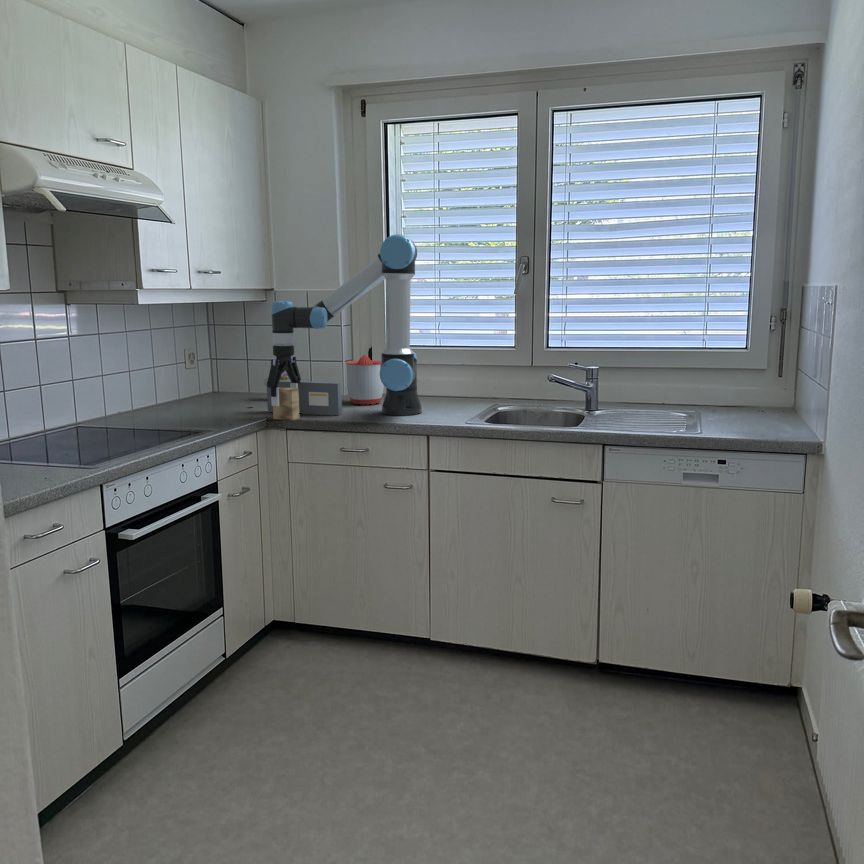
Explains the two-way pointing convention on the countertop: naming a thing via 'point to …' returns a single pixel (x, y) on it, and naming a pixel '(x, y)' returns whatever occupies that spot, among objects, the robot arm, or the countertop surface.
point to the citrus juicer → (364, 381)
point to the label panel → (315, 397)
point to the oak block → (287, 404)
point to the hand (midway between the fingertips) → (285, 403)
